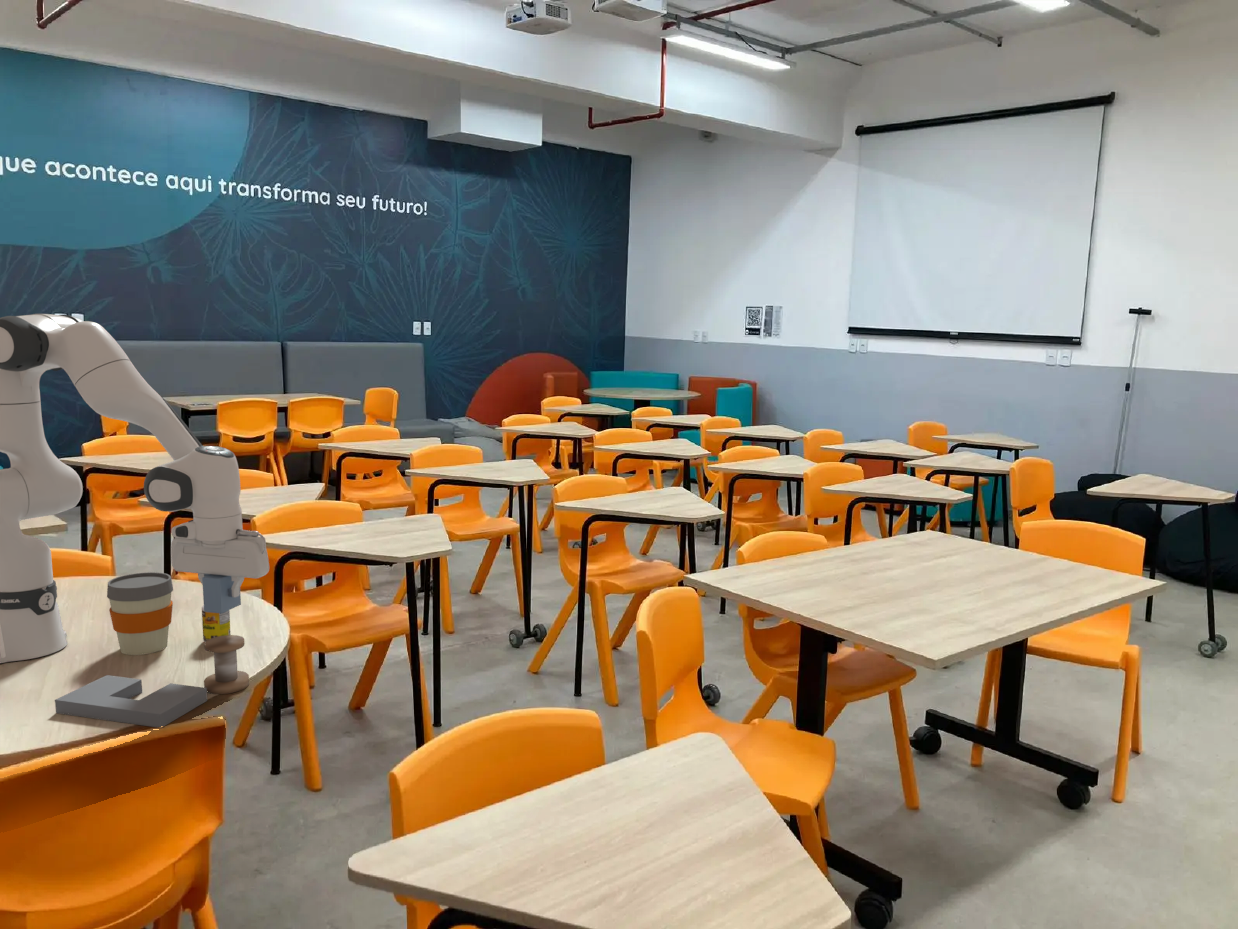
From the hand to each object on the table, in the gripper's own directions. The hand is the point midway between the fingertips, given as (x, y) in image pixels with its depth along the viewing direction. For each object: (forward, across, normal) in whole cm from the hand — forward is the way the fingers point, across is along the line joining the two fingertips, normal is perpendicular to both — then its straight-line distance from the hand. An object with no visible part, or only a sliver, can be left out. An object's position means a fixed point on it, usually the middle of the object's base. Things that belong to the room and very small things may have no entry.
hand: (222, 595), depth 184 cm
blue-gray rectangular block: (+3, 0, 0) cm, 3 cm away
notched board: (+15, +4, +21) cm, 26 cm away
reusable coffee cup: (+15, +24, -5) cm, 29 cm away
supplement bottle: (+15, +12, -13) cm, 24 cm away
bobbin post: (+15, -6, +8) cm, 18 cm away
